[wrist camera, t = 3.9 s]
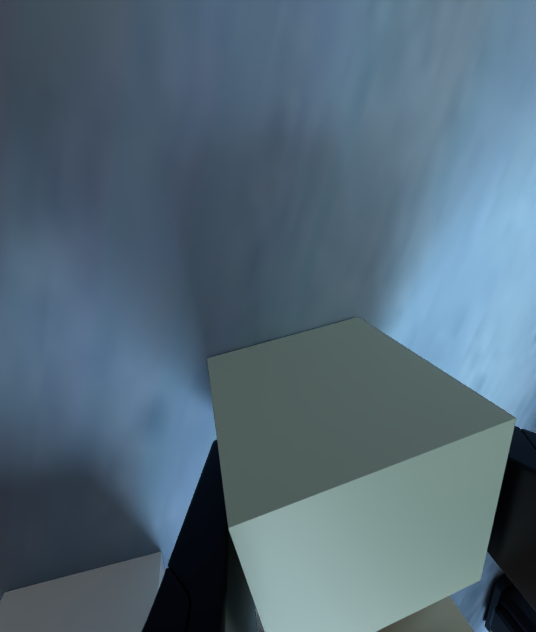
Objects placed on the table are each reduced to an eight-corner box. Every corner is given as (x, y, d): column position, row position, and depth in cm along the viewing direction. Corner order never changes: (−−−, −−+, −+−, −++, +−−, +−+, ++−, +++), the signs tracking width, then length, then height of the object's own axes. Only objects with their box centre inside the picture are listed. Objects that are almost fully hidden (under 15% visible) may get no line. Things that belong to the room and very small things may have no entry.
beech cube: (389, 506, 14) (486, 651, 9) (409, 554, 16) (498, 692, 11) (298, 561, 13) (354, 739, 9) (331, 603, 16) (390, 765, 11)
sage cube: (358, 316, 9) (515, 418, 5) (363, 431, 11) (479, 580, 7) (207, 358, 9) (228, 527, 4) (240, 474, 10) (281, 677, 6)
